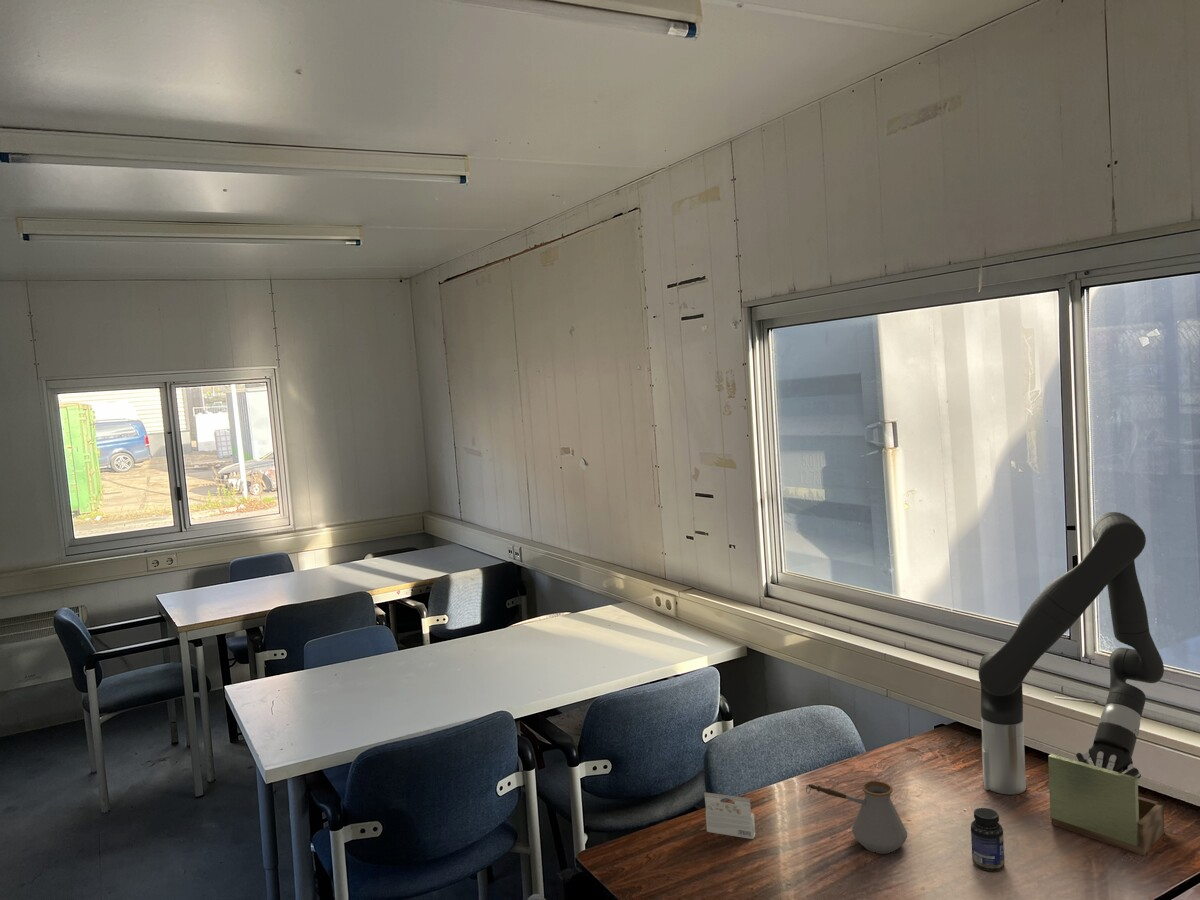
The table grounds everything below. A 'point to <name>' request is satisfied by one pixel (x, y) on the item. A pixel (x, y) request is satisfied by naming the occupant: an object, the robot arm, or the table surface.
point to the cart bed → (1148, 827)
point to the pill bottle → (987, 840)
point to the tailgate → (1094, 798)
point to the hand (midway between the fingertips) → (1097, 802)
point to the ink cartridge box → (729, 816)
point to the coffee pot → (875, 817)
